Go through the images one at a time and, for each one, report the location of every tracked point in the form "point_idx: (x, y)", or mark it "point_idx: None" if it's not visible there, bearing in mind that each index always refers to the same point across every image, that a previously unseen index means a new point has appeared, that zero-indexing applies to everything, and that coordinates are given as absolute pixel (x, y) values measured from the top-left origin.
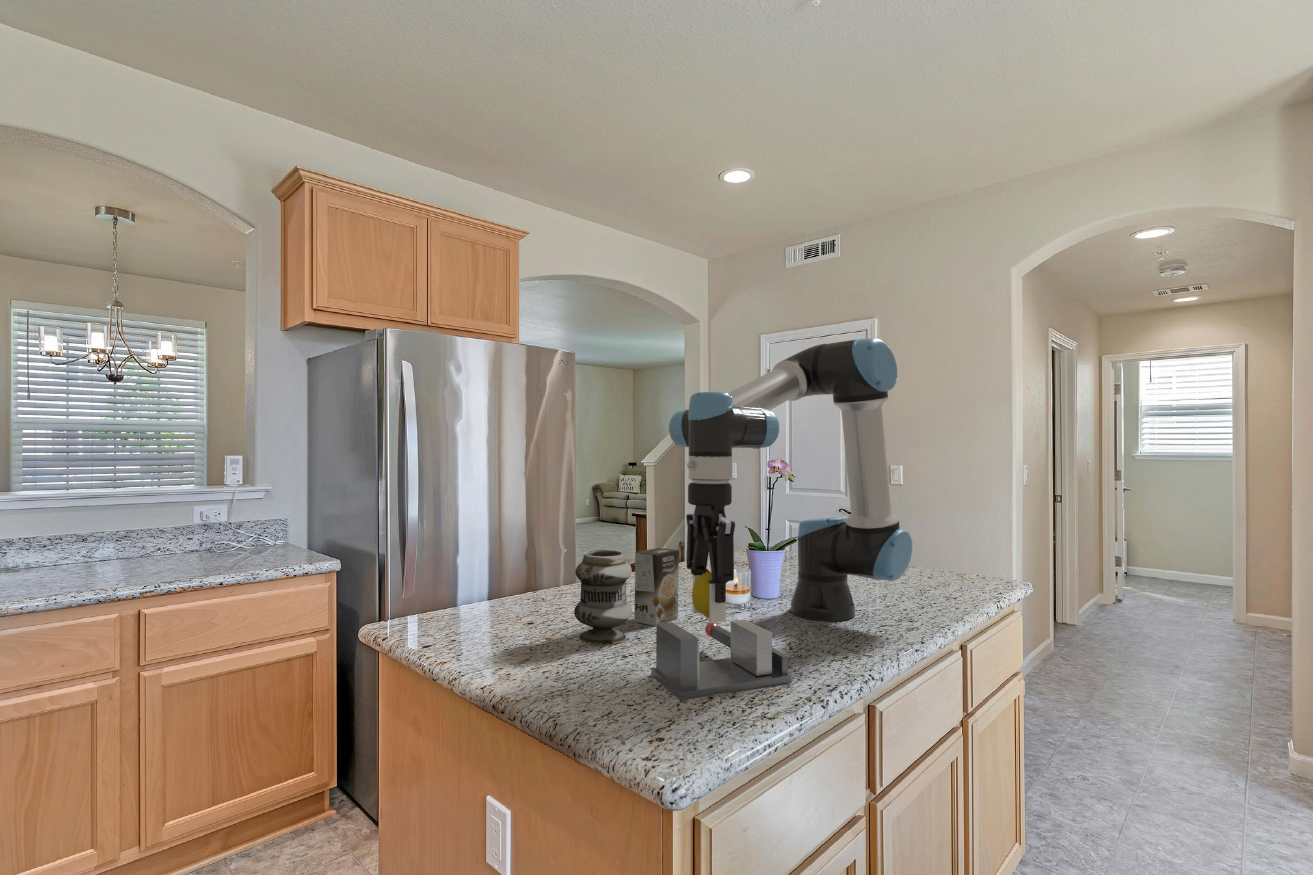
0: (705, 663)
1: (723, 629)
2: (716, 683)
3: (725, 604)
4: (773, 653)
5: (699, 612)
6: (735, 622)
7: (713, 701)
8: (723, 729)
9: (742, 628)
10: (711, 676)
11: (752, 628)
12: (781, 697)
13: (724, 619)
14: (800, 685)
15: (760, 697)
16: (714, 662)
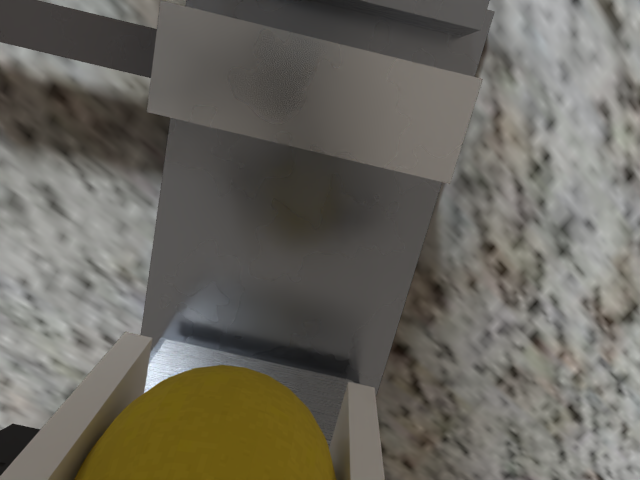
0: (184, 211)
1: (5, 2)
2: (371, 313)
3: (381, 457)
4: (403, 12)
5: (143, 393)
6: (186, 107)
7: (427, 361)
8: (578, 454)
9: (290, 144)
10: (308, 283)
11: (345, 114)
12: (553, 167)
13: (372, 397)
14: (530, 9)
15: (503, 226)
16: (192, 174)
